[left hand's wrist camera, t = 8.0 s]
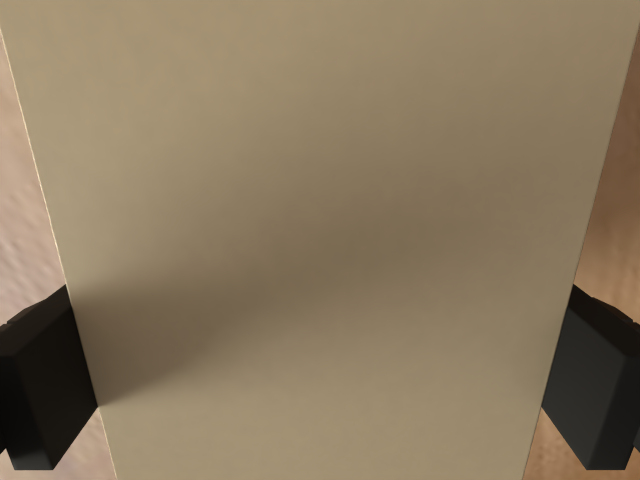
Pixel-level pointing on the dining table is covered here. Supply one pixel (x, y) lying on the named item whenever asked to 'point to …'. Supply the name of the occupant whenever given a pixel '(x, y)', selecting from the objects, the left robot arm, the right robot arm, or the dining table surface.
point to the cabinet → (319, 221)
